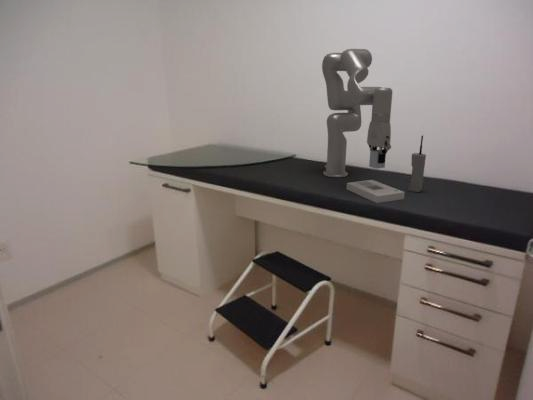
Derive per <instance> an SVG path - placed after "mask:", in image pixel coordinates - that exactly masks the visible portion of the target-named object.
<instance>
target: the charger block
mask: <svg viewBox="0 0 533 400" xmlns="http://www.w3.org/2000/svg"><path fill="white" fill-rule="evenodd" d="M379 154H380V149H377V150H370V149H369V162H368V163H369V168H370V167H371V168H372V169H384V168H386V162H385V163H378V157H379ZM386 156H387V155H386ZM386 156H385V159H386V158H387V157H386Z"/></svg>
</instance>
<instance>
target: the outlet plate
mask: <svg viewBox="0 0 533 400" xmlns="http://www.w3.org/2000/svg"><path fill="white" fill-rule="evenodd" d="M346 190H347V191H350V192H352V193H354V194H356V195H359V196H361V197H363V198H365V199H367V200H369V201H371V202H374V203H376V204H379V203H386V202H393V201H399V200H405V194H406V193H405V191H402V190H400V189H397V188H395V187H392V186H389V185H387V184H385V183H381V182H379V181H376V180H373V179H369V180H367V179H366V180H359V181H352V182H347V183H346Z"/></svg>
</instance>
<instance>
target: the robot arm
mask: <svg viewBox="0 0 533 400" xmlns="http://www.w3.org/2000/svg"><path fill="white" fill-rule="evenodd" d="M372 61H373V57H372V53H371V52H370V50H368V49H367V48H365V49H364V48H349V49H348V48H347V49H345V50H343V52H330V53H327V54H326V55H325V56H324V57H323V60H322V63H321V71H322V75H323V78H324V81H325V85H326V86H325V87H326V98H327V105H328V108H329V109H330V110H331V111H347V112H333V113H331V114H329V115H328V116H327V119H326V128H327V151H326V152H327V153H326V154H327V155H326V164H325V165H324V169H325V170H324V171H323V173H322V174H323V175H324V176H325V177H330V178H345V177H347V176H348V175H349V173H348V172H347V171H346V161H347V160H346V159H347V146H348V145H347V144H348V141H347V138H346V136H345V134H344V133H346V132H347V133H350V132H357V131H359V130H360V129H361V127H362V114H361V113H362V111H361V106H371V120H370V122H369V126H368V129H367V139H366V143H367V145H368V148H369V151H370V150H380V154H379V157H378V163H385V164H386V158H385V156H387V155H386V154H387V153H388V151H389V150H390V149H392V146H391V135H392V134H391V133H392V131H391V130H392V128H391V116H392V115H391V113H392V104H393V103H392V101H393V89H392V88H391V87H383V86H382V87H381V86H360V85H359V84H360V83H362V82H364V80H366V78H367V77H368V75H369V72H370V71H369V68H370V66H371V65H372ZM338 72H346V74H347V75H348V78H349V79H348V80H347V90H345V87H344V79H343V78H342V77H341V75H340V74H339V73H338Z"/></svg>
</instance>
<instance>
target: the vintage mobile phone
mask: <svg viewBox="0 0 533 400" xmlns="http://www.w3.org/2000/svg"><path fill="white" fill-rule="evenodd" d="M420 139H421V140H420V146H419V152H414V153H412V154H411V167H412V168H411V175H410V176H411V179H410V184H409V186H408V188H407V191H409V192H414V193H415V192H416V193H419V192H421V191H422V189H423V182H424V174H425V165H426V158H427V154H425V153H422V151H423V141H424V135H421V137H420Z"/></svg>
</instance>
